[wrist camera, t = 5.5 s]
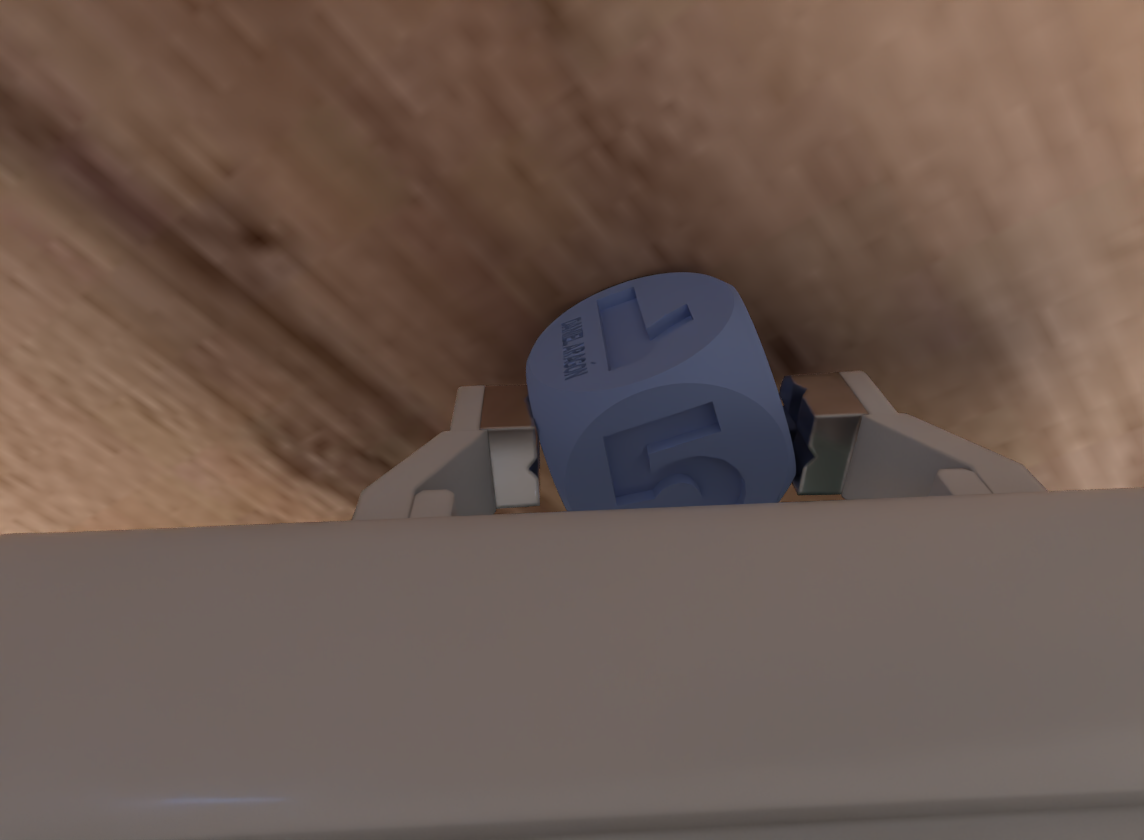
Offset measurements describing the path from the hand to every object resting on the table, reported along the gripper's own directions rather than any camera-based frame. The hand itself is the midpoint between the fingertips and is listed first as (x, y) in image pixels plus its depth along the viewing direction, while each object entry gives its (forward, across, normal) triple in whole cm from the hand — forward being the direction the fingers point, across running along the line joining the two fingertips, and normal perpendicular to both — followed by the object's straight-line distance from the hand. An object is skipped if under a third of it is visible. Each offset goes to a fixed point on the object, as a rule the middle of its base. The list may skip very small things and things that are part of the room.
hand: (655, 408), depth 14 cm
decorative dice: (+2, 0, 0) cm, 2 cm away
